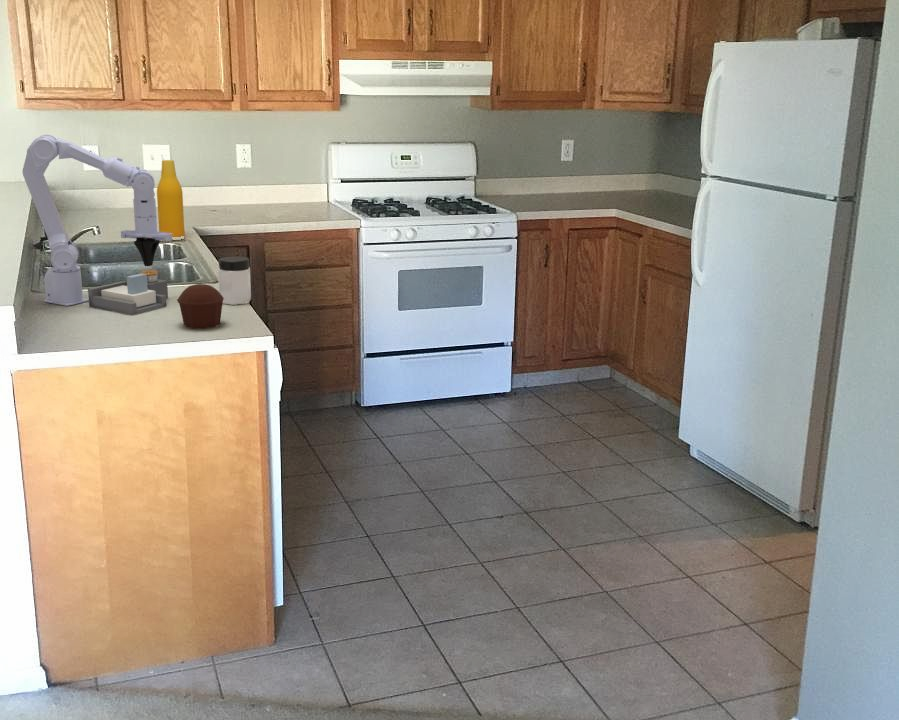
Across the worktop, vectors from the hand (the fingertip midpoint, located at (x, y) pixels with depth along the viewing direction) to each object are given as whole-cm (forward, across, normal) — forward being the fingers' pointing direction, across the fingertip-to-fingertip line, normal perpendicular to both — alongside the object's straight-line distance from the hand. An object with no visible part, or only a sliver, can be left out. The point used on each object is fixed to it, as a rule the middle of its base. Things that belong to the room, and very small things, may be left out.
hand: (148, 265), depth 267 cm
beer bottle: (+10, -45, +91) cm, 102 cm away
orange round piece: (+6, 0, 0) cm, 6 cm away
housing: (+9, 0, -7) cm, 12 cm away
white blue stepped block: (+8, 0, -10) cm, 13 cm away
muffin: (+10, +27, -21) cm, 35 cm away
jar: (+10, +23, +5) cm, 26 cm away
